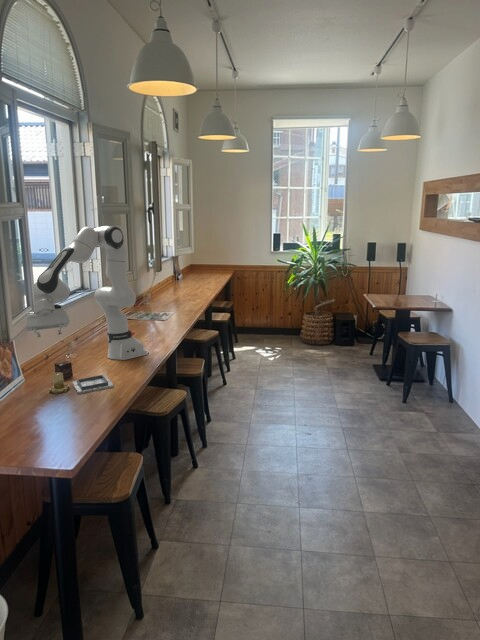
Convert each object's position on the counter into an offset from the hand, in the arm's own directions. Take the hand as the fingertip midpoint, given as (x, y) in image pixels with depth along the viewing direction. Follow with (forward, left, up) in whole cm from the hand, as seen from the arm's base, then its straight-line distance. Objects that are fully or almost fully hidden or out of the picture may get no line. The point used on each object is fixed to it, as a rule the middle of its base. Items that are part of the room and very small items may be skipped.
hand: (49, 335), depth 227 cm
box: (-5, -7, -24) cm, 25 cm away
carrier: (-15, +14, -24) cm, 31 cm away
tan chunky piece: (0, +12, -24) cm, 27 cm away
